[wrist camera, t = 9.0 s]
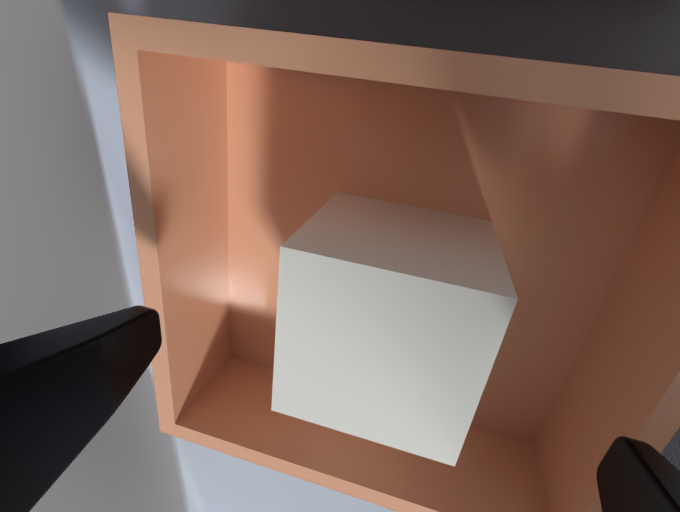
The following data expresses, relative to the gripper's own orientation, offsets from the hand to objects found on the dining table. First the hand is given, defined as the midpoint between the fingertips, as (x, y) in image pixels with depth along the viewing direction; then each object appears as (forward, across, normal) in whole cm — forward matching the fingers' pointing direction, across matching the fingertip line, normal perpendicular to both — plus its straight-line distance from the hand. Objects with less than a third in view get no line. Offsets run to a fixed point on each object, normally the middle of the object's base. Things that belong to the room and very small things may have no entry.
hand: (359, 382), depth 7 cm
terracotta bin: (+6, 0, 0) cm, 6 cm away
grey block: (+5, 0, 0) cm, 5 cm away
